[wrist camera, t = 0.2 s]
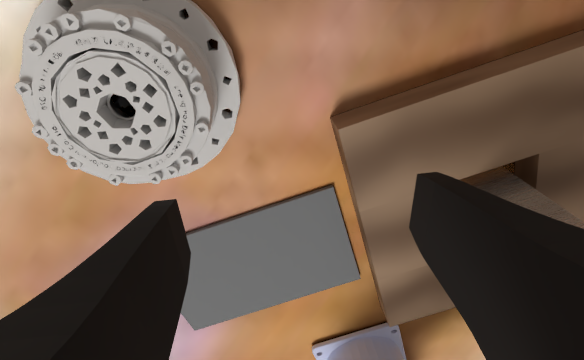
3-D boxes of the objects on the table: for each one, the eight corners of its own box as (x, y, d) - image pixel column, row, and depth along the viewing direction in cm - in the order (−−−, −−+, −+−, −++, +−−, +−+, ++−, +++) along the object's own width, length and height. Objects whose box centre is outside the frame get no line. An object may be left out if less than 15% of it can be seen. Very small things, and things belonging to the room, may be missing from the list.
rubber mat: (359, 275, 26) (360, 278, 26) (195, 327, 27) (194, 330, 26) (332, 184, 21) (333, 186, 21) (135, 250, 22) (134, 253, 22)
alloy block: (495, 207, 24) (613, 310, 16) (442, 224, 24) (534, 333, 17) (496, 162, 22) (630, 254, 14) (438, 181, 22) (540, 281, 15)
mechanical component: (274, 116, 19) (158, -74, 14) (280, 148, 15) (125, -98, 10) (136, 195, 20) (-10, 47, 16) (111, 241, 17) (-94, 65, 12)
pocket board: (565, 250, 27) (587, 267, 26) (380, 306, 28) (389, 327, 26) (604, 22, 18) (641, 25, 16) (330, 117, 19) (338, 129, 17)
